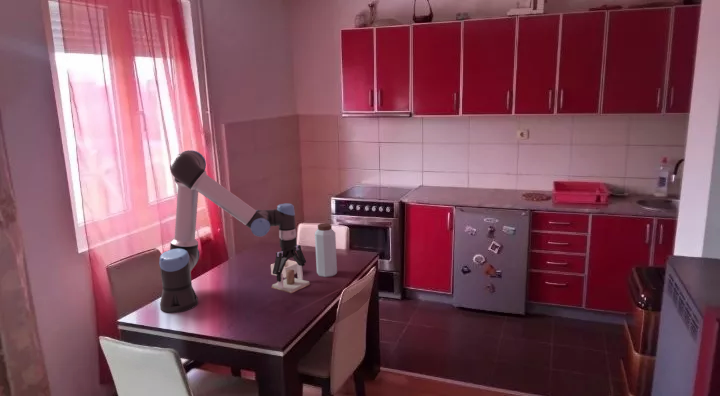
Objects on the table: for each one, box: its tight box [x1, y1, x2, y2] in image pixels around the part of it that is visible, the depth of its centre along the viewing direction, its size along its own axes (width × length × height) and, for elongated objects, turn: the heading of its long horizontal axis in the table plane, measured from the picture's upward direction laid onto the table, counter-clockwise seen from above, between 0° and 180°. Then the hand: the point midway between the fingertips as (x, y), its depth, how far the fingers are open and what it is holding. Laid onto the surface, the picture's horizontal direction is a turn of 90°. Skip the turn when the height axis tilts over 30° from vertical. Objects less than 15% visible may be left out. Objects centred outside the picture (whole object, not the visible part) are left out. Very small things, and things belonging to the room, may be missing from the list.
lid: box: [271, 269, 310, 294], centre depth 232 cm, size 12×12×7 cm
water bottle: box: [314, 222, 338, 278], centre depth 244 cm, size 10×10×25 cm
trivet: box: [270, 283, 311, 294], centre depth 233 cm, size 13×13×1 cm
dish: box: [270, 259, 298, 279], centre depth 249 cm, size 10×10×6 cm
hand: (290, 283), depth 232 cm, fingers closed on lid, 12 cm apart
